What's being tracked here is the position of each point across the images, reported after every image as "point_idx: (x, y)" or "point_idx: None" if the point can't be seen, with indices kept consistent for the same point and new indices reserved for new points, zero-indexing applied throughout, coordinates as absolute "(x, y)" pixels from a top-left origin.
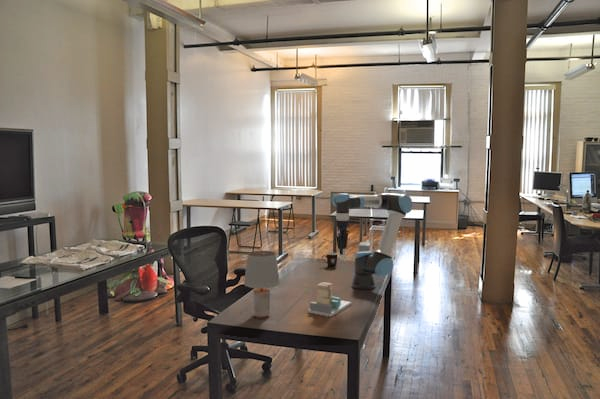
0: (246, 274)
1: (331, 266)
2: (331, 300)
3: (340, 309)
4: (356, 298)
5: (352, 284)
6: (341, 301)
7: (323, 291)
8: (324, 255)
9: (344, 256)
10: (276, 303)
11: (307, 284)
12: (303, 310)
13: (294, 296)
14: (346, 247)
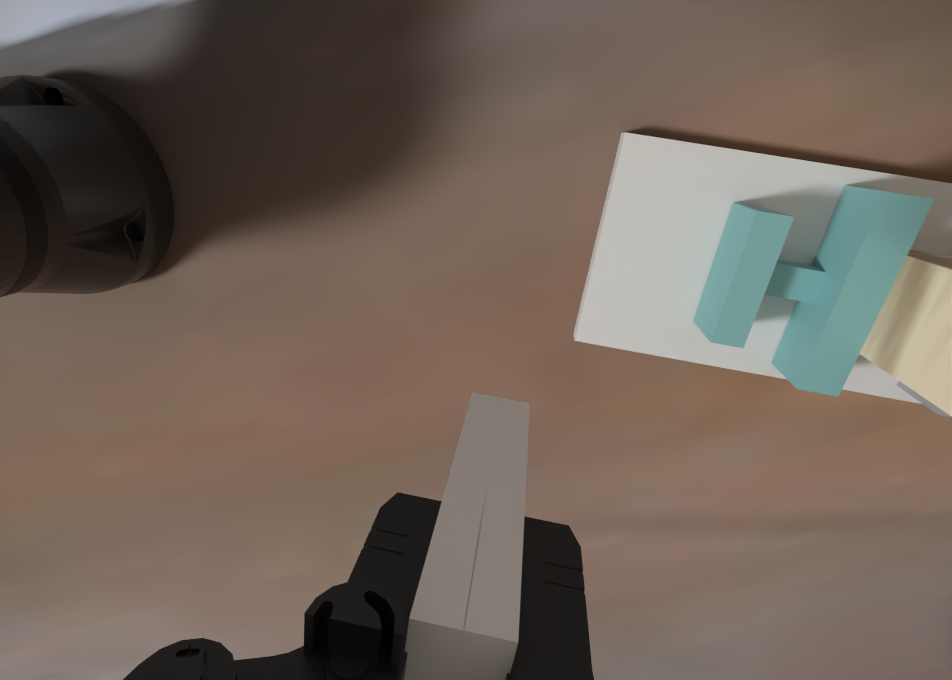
0: None
1: None
2: (926, 260)
3: (845, 167)
4: (426, 143)
5: (135, 276)
6: (635, 223)
7: None
8: None
9: (473, 437)
10: (747, 614)
11: (277, 558)
12: (871, 436)
13: None
14: (307, 616)
